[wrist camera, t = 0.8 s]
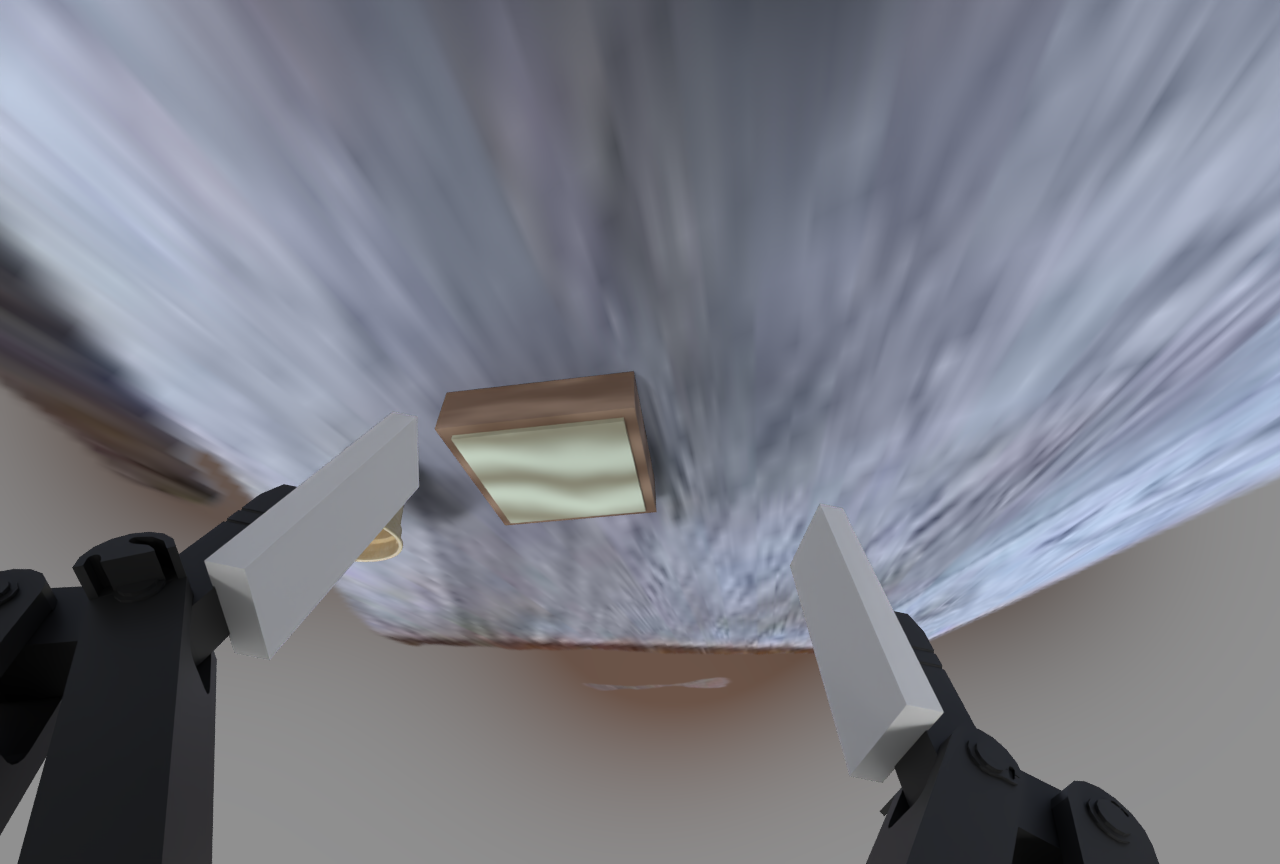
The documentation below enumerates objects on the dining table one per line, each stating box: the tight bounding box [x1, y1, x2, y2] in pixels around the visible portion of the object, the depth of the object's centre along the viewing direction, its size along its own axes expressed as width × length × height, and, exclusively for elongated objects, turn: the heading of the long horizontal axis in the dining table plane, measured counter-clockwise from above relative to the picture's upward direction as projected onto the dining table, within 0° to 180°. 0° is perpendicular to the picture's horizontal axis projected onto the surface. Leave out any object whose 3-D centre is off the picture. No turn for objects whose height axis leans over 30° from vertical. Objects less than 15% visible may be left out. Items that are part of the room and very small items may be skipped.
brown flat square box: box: [435, 371, 656, 525], centre depth 44 cm, size 16×16×4 cm
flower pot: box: [344, 448, 404, 562], centre depth 44 cm, size 9×9×9 cm
